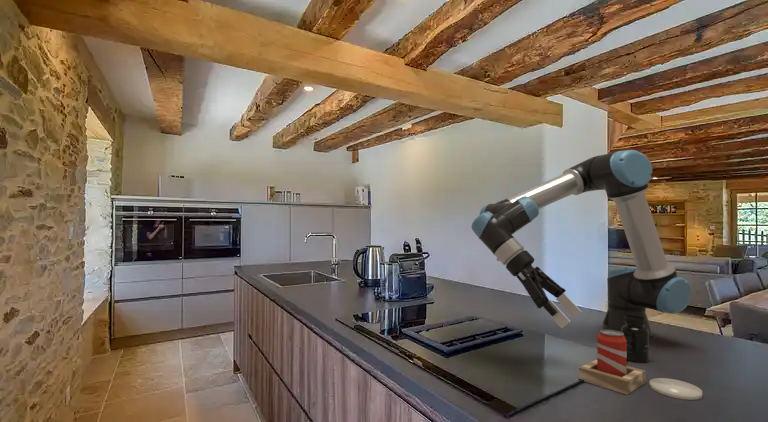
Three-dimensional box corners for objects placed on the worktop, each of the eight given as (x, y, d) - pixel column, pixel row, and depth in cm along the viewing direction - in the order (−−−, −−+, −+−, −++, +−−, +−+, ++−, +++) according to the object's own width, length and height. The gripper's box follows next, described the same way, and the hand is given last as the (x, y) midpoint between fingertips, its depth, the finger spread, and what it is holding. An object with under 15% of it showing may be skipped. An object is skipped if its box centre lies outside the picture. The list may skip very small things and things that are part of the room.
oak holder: (598, 369, 108) (598, 358, 108) (645, 382, 100) (645, 370, 100) (578, 379, 101) (578, 367, 101) (627, 394, 93) (627, 381, 93)
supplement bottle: (653, 364, 113) (653, 320, 113) (626, 362, 114) (626, 319, 115) (643, 356, 120) (642, 315, 120) (617, 354, 121) (617, 313, 121)
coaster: (658, 378, 102) (658, 374, 102) (707, 392, 94) (707, 387, 94) (643, 388, 96) (642, 384, 96) (694, 404, 88) (694, 399, 88)
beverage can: (632, 384, 98) (632, 334, 99) (611, 387, 97) (611, 336, 97) (612, 375, 104) (611, 328, 104) (591, 378, 102) (591, 329, 103)
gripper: (519, 263, 126) (571, 319, 117) (488, 270, 106) (548, 339, 97) (537, 247, 123) (592, 303, 114) (508, 251, 103) (572, 320, 94)
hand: (572, 319), depth 105 cm, fingers open, 13 cm apart
